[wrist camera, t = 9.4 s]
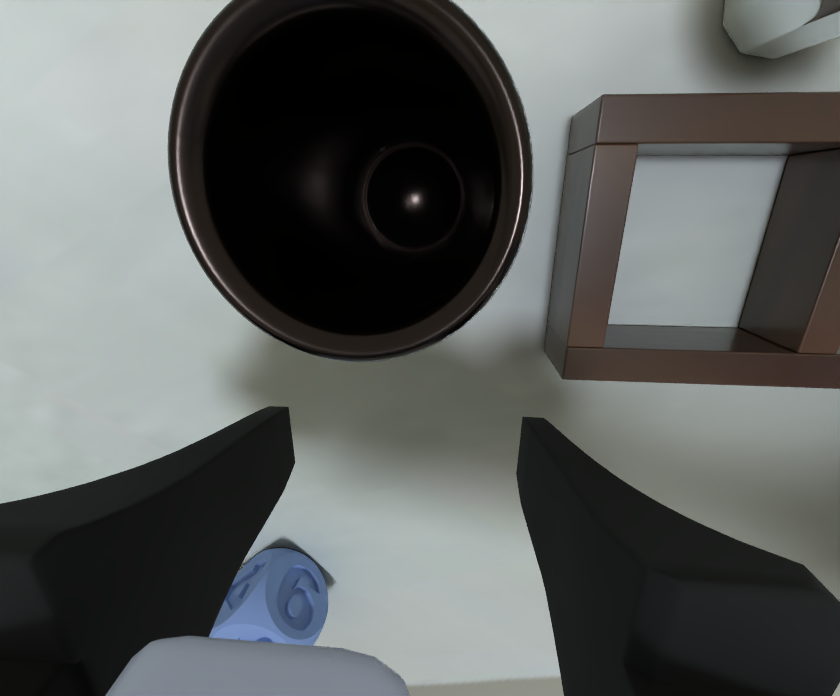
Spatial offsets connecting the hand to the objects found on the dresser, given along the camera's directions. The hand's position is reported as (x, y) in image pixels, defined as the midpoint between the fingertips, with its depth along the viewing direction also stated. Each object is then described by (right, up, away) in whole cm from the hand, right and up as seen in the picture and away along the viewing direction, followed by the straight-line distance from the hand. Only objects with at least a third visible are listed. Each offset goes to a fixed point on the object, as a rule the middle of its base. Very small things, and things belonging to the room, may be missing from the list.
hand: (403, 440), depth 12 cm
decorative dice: (-7, -9, +10) cm, 15 cm away
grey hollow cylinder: (0, +8, +3) cm, 9 cm away
